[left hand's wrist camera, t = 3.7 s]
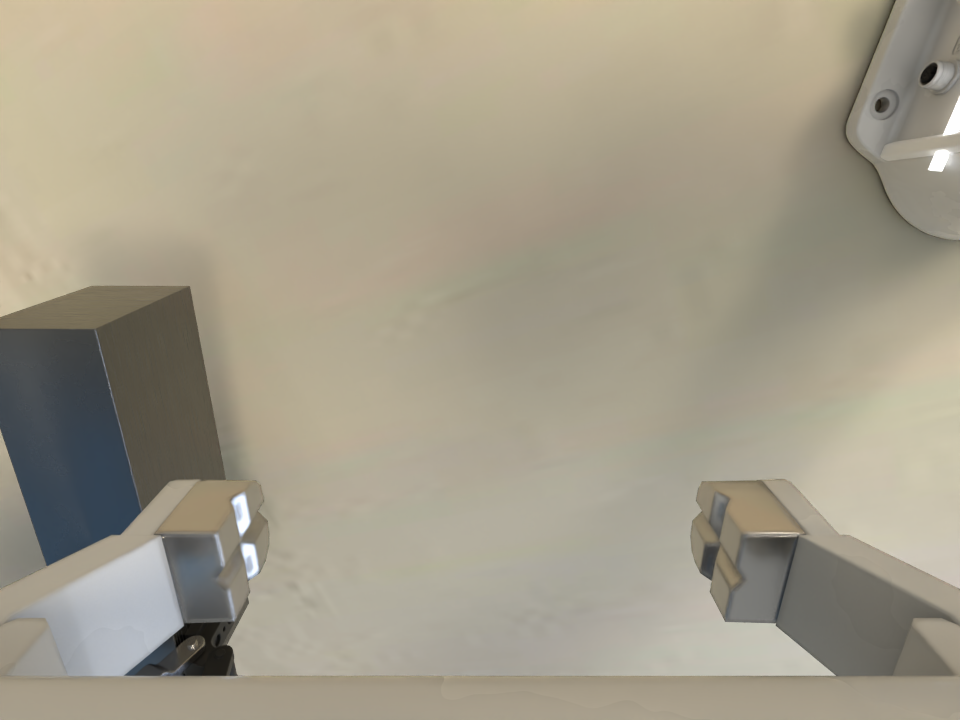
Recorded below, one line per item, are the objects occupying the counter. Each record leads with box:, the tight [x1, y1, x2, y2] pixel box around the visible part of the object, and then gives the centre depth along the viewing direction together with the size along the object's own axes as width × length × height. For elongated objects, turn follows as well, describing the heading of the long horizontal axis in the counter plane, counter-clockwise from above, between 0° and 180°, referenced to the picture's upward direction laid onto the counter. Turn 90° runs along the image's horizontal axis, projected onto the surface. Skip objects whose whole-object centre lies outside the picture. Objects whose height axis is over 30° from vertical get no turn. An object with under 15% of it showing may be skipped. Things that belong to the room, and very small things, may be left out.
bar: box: [0, 286, 249, 676], centre depth 31 cm, size 22×6×8 cm, turn 0°
